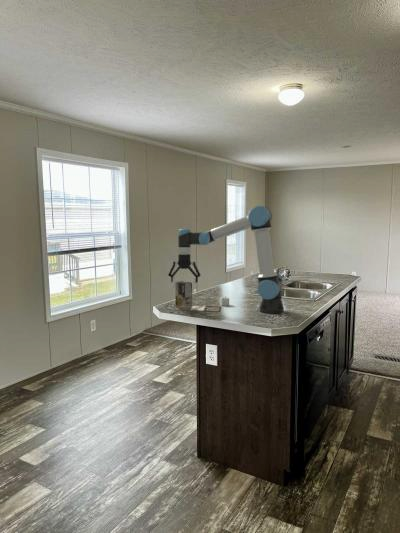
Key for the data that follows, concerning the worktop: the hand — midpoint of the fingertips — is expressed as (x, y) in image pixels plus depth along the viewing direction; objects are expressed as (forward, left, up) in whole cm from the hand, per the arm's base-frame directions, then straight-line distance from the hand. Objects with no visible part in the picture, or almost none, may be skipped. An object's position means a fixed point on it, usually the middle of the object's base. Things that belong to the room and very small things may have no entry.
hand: (184, 287), depth 243 cm
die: (-25, -14, -13) cm, 31 cm away
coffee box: (0, 0, -13) cm, 13 cm away
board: (-9, 0, -13) cm, 16 cm away
